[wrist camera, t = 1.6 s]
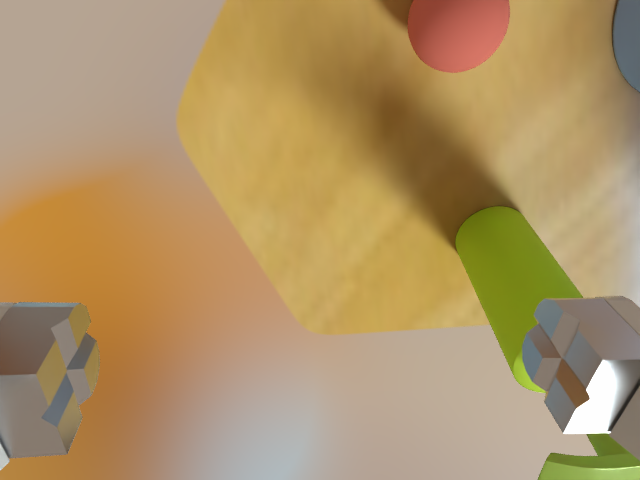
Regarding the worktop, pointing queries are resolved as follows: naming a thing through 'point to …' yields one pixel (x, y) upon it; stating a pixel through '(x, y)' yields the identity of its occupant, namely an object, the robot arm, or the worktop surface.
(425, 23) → the ball
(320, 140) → the worktop surface
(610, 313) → the robot arm
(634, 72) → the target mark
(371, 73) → the worktop surface
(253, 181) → the worktop surface
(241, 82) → the worktop surface
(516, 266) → the soap dispenser
